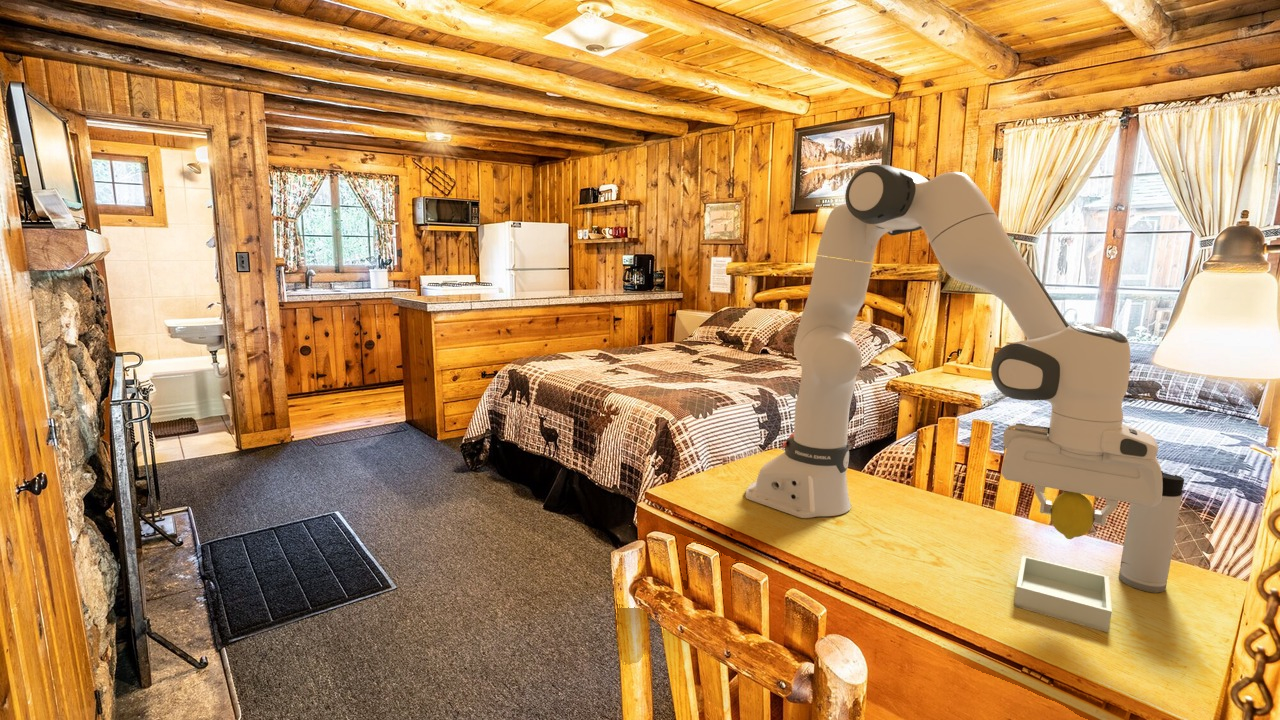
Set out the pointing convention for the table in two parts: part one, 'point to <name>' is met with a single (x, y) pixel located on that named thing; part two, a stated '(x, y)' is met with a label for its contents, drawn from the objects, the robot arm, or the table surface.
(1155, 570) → the travel mug
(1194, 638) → the table surface
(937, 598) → the table surface
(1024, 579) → the bin
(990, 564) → the table surface
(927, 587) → the table surface
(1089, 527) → the lemon
